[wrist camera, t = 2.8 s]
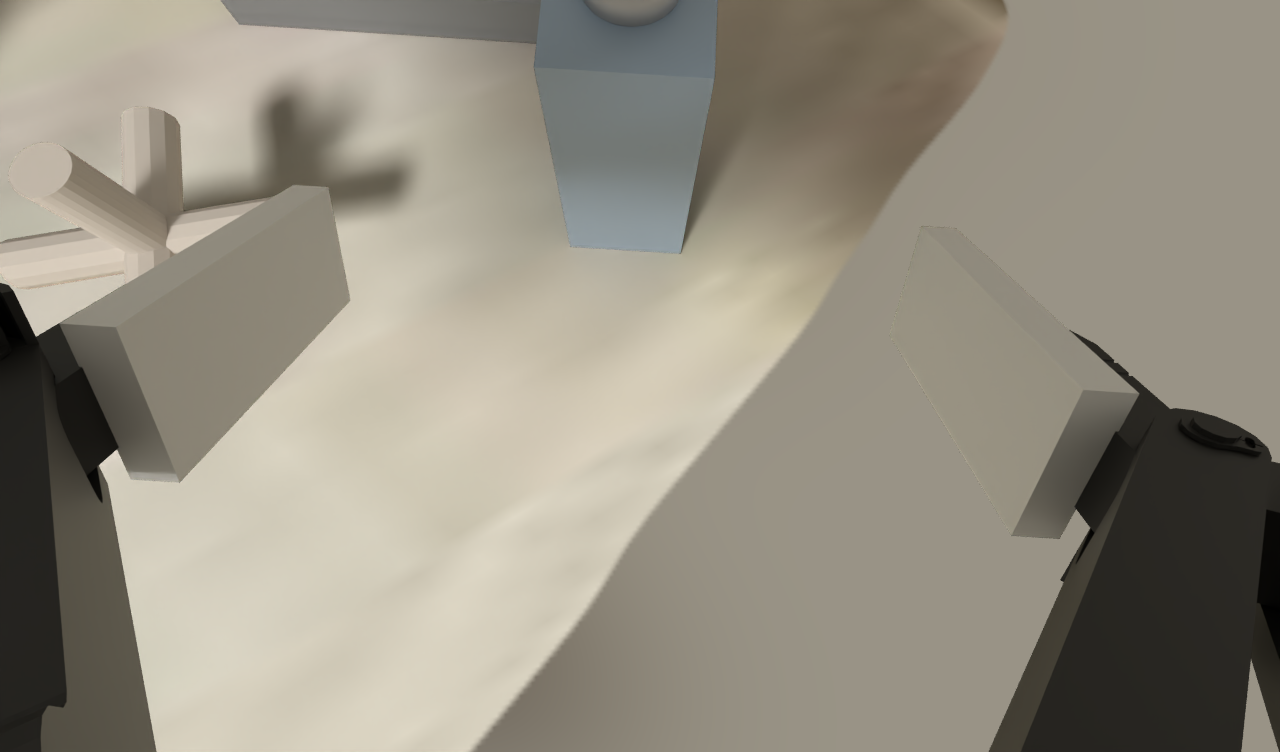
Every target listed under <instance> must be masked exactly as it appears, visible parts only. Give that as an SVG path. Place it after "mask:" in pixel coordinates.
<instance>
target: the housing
mask: <svg viewBox="0 0 1280 752" xmlns="http://www.w3.org/2000/svg"><path fill="white" fill-rule="evenodd" d="M221 2H222V3H223V4H224V5H225V7H226V8H227V9H228V11H229V12H230V13H231V14H232V16H233V17H234V18H235V20H236V21H237V22H238V23H239V24H243V25H258V26H274V27H290V28H305V29H321V30H337V31H353V32H368V33H384V34H400V35H415V36H431V37H447V38H463V39H478V40H494V41H510V42H525V43H537V34H538V24H539V15H540V6H541V0H221Z"/></svg>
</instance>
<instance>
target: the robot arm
mask: <svg viewBox="0 0 1280 752" xmlns="http://www.w3.org/2000/svg"><path fill="white" fill-rule="evenodd" d="M349 301H350V296H349V291H348V286H347V280H346V275H345V270H344V265H343V260H342V255H341V249H340V244H339V239H338V234H337V229H336V224H335V218H334V213H333V208H332V203H331V198H330V193H329V188H328V187H320V186H305V185H292V186H291V187H289V188H287V189H286V190H284V191H282V192H281V193H279V194H277V195H275V196H274V197H272V198H270V199H269V200H267V201H265V202H264V203H262V204H260V205H259V206H257V207H255V208H254V209H252V210H250V211H248V212H247V213H245V214H243V215H242V216H240V217H238V218H237V219H235V220H233V221H232V222H230V223H228V224H226V225H225V226H223V227H221V228H220V229H218V230H216V231H215V232H213V233H211V234H210V235H208V236H206V237H204V238H203V239H201V240H199V241H198V242H196V243H194V244H193V245H191V246H189V247H188V248H186V249H184V250H183V251H181V252H179V253H177V254H176V255H174V256H172V257H171V258H169V259H167V260H166V261H164V262H162V263H161V264H159V265H157V266H155V267H154V268H152V269H150V270H149V271H147V272H145V273H144V274H142V275H140V276H139V277H137V278H135V279H133V280H132V281H130V282H128V283H126V284H125V285H123V286H121V287H120V288H118V289H116V290H115V291H113V292H111V293H110V294H108V295H106V296H105V297H103V298H101V299H99V300H98V301H96V302H94V303H93V304H91V305H89V306H88V307H86V308H84V309H83V310H81V311H79V312H77V313H76V314H74V315H72V316H71V317H69V318H67V319H66V320H64V321H62V322H61V323H59V324H57V325H55V326H54V327H52V328H50V329H49V330H47V331H45V332H44V333H42V334H40V335H39V336H37V337H36V336H35V334H34V332H33V330H32V328H31V326H30V324H29V322H28V320H27V318H26V316H25V314H24V312H23V310H22V308H21V306H20V304H19V301H18V299H17V297H16V295H15V293H14V291H13V290H12V289H11V288H10V286H9V285H6V284H2V283H0V752H156V747H155V741H154V736H153V730H152V725H151V719H150V714H149V708H148V703H147V697H146V692H145V686H144V681H143V675H142V670H141V664H140V659H139V653H138V648H137V642H136V637H135V631H134V626H133V620H132V615H131V609H130V604H129V598H128V593H127V587H126V582H125V576H124V571H123V565H122V560H121V554H120V549H119V543H118V538H117V532H116V527H115V521H114V516H113V510H112V505H111V499H110V494H109V488H108V484H107V482H106V480H105V478H104V476H103V473H102V471H101V469H100V467H99V465H100V464H101V463H102V462H103V461H104V460H105V459H106V458H107V457H109V456H110V455H111V454H112V453H113V452H114V451H115V450H118V452H119V454H120V457H121V459H122V461H123V463H124V465H125V467H126V470H127V472H128V474H129V476H130V478H131V479H132V480H148V481H164V482H179V483H180V482H181V481H182V480H183V479H184V477H185V476H186V475H187V474H188V473H189V472H190V471H191V470H192V469H193V468H194V467H195V466H196V465H197V464H198V463H199V461H200V460H201V459H202V458H203V457H204V456H205V455H206V454H207V453H208V452H209V451H210V450H211V449H212V448H213V447H214V445H215V444H216V443H217V442H218V441H219V440H220V439H221V438H222V437H223V436H224V435H225V434H226V433H227V432H228V431H229V429H230V428H231V427H232V426H233V425H234V424H235V423H236V422H237V421H238V420H239V419H240V418H241V417H242V416H243V415H244V413H245V412H246V411H247V410H248V409H249V408H250V407H251V406H252V405H253V404H254V403H255V402H256V401H257V400H258V399H259V397H260V396H261V395H262V394H263V393H264V392H265V391H266V390H267V389H268V388H269V387H270V386H271V385H272V384H273V383H274V381H275V380H276V379H277V378H278V377H279V376H280V375H281V374H282V373H283V372H284V371H285V370H286V369H287V368H288V367H289V365H290V364H291V363H292V362H293V361H294V360H295V359H296V358H297V357H298V356H299V355H300V354H301V353H302V352H303V350H304V349H305V348H306V347H307V346H308V345H309V344H310V343H311V342H312V341H313V340H314V339H315V338H316V337H317V336H318V334H319V333H320V332H321V331H322V330H323V329H324V328H325V327H326V326H327V325H328V324H329V323H330V322H331V321H332V320H333V318H334V317H335V316H336V315H337V314H338V313H339V312H340V311H341V310H342V309H343V308H344V307H345V306H346V305H347V304H348V302H349ZM890 337H891V339H892V340H893V342H894V344H895V345H896V347H897V349H898V351H899V352H900V354H901V355H902V357H903V359H904V360H905V362H906V364H907V365H908V367H909V369H910V370H911V372H912V373H913V375H914V377H915V378H916V380H917V382H918V383H919V385H920V387H921V388H922V390H923V392H924V393H925V394H926V397H927V398H928V400H929V401H930V403H931V405H932V406H933V408H934V410H935V411H936V413H937V415H938V416H939V418H940V419H941V421H942V423H943V424H944V426H945V428H946V429H947V431H948V432H949V434H950V436H951V438H952V439H953V441H954V442H955V444H956V446H957V447H958V449H959V451H960V452H961V454H962V456H963V457H964V459H965V461H966V462H967V464H968V465H969V467H970V469H971V470H972V472H973V474H974V475H975V477H976V479H977V480H978V482H979V484H980V485H981V487H982V488H983V490H984V492H985V493H986V495H987V497H988V498H989V500H990V502H991V503H992V505H993V506H994V508H995V510H996V512H997V513H998V515H999V516H1000V518H1001V520H1002V521H1003V523H1004V525H1005V526H1006V528H1007V530H1008V531H1009V533H1010V534H1011V536H1022V537H1038V538H1053V539H1060V537H1061V535H1062V534H1063V531H1064V530H1065V528H1066V526H1067V524H1068V523H1069V521H1070V519H1071V517H1072V515H1073V514H1074V512H1075V510H1076V509H1077V511H1078V512H1079V513H1080V515H1081V516H1082V517H1083V519H1084V520H1085V521H1086V523H1087V524H1088V525H1089V526H1090V530H1089V531H1088V533H1087V535H1086V536H1085V538H1084V540H1083V542H1082V543H1081V545H1080V547H1079V549H1078V550H1077V552H1076V554H1075V555H1074V557H1073V559H1072V561H1071V562H1070V564H1069V566H1068V568H1067V569H1066V571H1065V573H1064V574H1063V576H1062V578H1061V581H1063V582H1064V583H1063V586H1062V588H1061V590H1060V592H1059V594H1058V597H1057V599H1056V601H1055V604H1054V606H1053V608H1052V610H1051V613H1050V615H1049V617H1048V619H1047V621H1046V624H1045V626H1044V628H1043V631H1042V633H1041V635H1040V637H1039V639H1038V642H1037V644H1036V646H1035V648H1034V651H1033V653H1032V655H1031V657H1030V660H1029V662H1028V664H1027V666H1026V669H1025V671H1024V673H1023V675H1022V678H1021V680H1020V682H1019V684H1018V687H1017V689H1016V691H1015V694H1014V696H1013V698H1012V700H1011V703H1010V705H1009V707H1008V709H1007V711H1006V714H1005V716H1004V718H1003V720H1002V723H1001V725H1000V727H999V729H998V732H997V734H996V736H995V738H994V741H993V743H992V745H991V747H990V750H989V752H1241V749H1242V739H1243V729H1244V719H1245V709H1246V700H1247V691H1248V681H1249V671H1250V662H1251V660H1252V663H1253V666H1254V670H1255V673H1256V676H1257V680H1258V683H1259V686H1260V690H1261V693H1262V696H1263V700H1264V703H1265V706H1266V710H1267V713H1268V716H1269V719H1270V723H1271V726H1272V729H1273V733H1274V736H1275V739H1276V742H1277V746H1278V749H1279V752H1280V463H1276V462H1271V459H1272V457H1271V455H1270V452H1269V449H1268V448H1267V447H1266V446H1265V445H1264V444H1263V443H1262V442H1261V441H1260V440H1259V439H1258V438H1257V437H1256V436H1254V435H1252V434H1251V433H1249V432H1247V431H1246V430H1244V429H1242V428H1241V427H1239V426H1237V425H1235V424H1233V423H1230V422H1228V421H1225V420H1223V419H1221V418H1218V417H1215V416H1212V415H1208V414H1205V413H1202V412H1198V411H1194V410H1186V409H1177V408H1175V409H1169V408H1168V407H1167V406H1166V405H1165V404H1164V403H1163V402H1161V401H1160V400H1159V399H1158V398H1157V397H1155V395H1153V394H1152V393H1151V392H1150V391H1149V390H1148V389H1147V388H1145V387H1144V386H1143V385H1142V384H1141V383H1140V382H1139V381H1137V380H1136V379H1135V378H1134V377H1133V376H1129V375H1128V374H1129V373H1128V372H1127V371H1126V370H1125V369H1124V368H1123V367H1122V366H1120V365H1119V364H1118V363H1114V360H1113V359H1112V358H1111V357H1110V356H1109V355H1108V354H1107V353H1106V352H1104V351H1103V350H1102V349H1101V348H1100V347H1099V346H1098V345H1096V344H1095V343H1093V342H1091V341H1089V340H1087V339H1085V338H1083V337H1081V336H1080V335H1078V334H1076V333H1074V332H1072V331H1071V330H1068V329H1067V328H1066V327H1065V326H1064V325H1063V324H1062V323H1061V322H1059V321H1058V320H1057V319H1056V318H1055V317H1054V316H1053V315H1052V314H1051V313H1049V312H1048V311H1047V310H1046V309H1045V308H1044V307H1043V306H1042V305H1040V304H1039V303H1038V302H1037V301H1036V300H1035V299H1034V298H1033V297H1032V296H1031V295H1029V294H1028V293H1027V292H1026V291H1025V290H1024V289H1023V288H1022V287H1020V286H1019V285H1018V284H1017V283H1016V282H1015V281H1014V280H1013V279H1012V278H1011V277H1009V276H1008V275H1007V274H1006V273H1005V272H1004V271H1003V270H1002V269H1001V268H999V267H998V266H997V265H996V264H995V263H994V262H993V261H992V260H990V259H989V258H988V257H987V256H986V255H985V254H984V253H983V252H982V251H981V250H979V249H978V248H977V247H976V246H975V245H974V244H973V243H972V242H971V241H969V240H968V239H967V238H966V237H965V236H964V235H963V234H962V233H961V232H959V231H958V230H957V229H956V228H944V227H929V226H921V229H920V233H919V236H918V240H917V243H916V247H915V250H914V253H913V257H912V260H911V263H910V267H909V270H908V274H907V277H906V281H905V284H904V287H903V291H902V294H901V298H900V301H899V305H898V308H897V311H896V315H895V318H894V322H893V325H892V329H891V332H890Z"/></svg>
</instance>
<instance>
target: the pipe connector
mask: <svg viewBox="0 0 1280 752" xmlns="http://www.w3.org/2000/svg"><path fill="white" fill-rule="evenodd" d="M121 146H122V186H120V185H119V184H117V183H116V182H114V181H113V180H111V179H110V178H108V177H107V176H105V175H104V174H102V173H101V172H99V171H98V170H96V169H95V168H93V167H92V166H90V165H89V164H87V163H86V162H84V161H83V160H82V159H80V158H79V157H77V156H76V155H74V154H73V153H71V152H70V151H68V150H67V149H65V148H64V147H62V146H60V145H58V144H55V143H50V142H41V143H37V144H33V145H31V146H29V147H27V148H25V149H23V150H22V151H21V152H20V153H18V154H17V156H16V157H15V158H14V159H13V161H12V163H11V165H10V167H9V173H8V178H9V183H10V185H11V187H12V188H13V189H14V190H15V191H16V192H17V193H18V194H20V195H22V196H24V197H25V198H27V199H29V200H31V201H33V202H34V203H36V204H38V205H40V206H42V207H44V208H45V209H47V210H49V211H51V212H53V213H55V214H56V215H58V216H60V217H62V218H64V219H66V220H67V221H69V222H71V223H73V224H75V225H77V226H78V227H80V228H76V229H70V230H63V231H57V232H51V233H45V234H39V235H33V236H26V237H20V238H14V239H8V240H5V241H3V242H1V243H0V273H1V275H2V276H3V278H4V279H5V280H6V281H7V282H9V283H10V284H12V285H13V286H15V287H16V288H20V289H34V288H40V287H46V286H52V285H58V284H64V283H70V282H76V281H82V280H88V279H94V278H100V277H106V276H112V275H118V274H124V273H125V284H126V283H128V282H130V281H132V280H133V279H135V278H137V277H139V276H140V275H142V274H144V273H145V272H147V271H149V270H150V269H152V268H154V267H155V266H157V265H159V264H161V263H162V262H164V261H166V260H167V259H169V258H171V257H172V256H174V255H176V254H177V253H179V252H181V251H183V250H184V249H186V248H188V247H189V246H191V245H193V244H194V243H196V242H198V241H199V240H201V239H203V238H204V237H206V236H208V235H210V234H211V233H213V232H215V231H216V230H218V229H220V228H221V227H223V226H225V225H226V224H228V223H230V222H232V221H233V220H235V219H237V218H238V217H240V216H242V215H243V214H245V213H247V212H248V211H250V210H252V209H254V208H255V207H257V206H259V205H260V204H262V203H264V202H265V201H267V200H269V199H270V198H272V197H267V198H261V199H255V200H249V201H243V202H236V203H230V204H224V205H218V206H212V207H205V208H199V209H193V210H187V211H184V205H183V183H182V161H181V139H180V125H179V123H178V121H177V120H176V118H175V117H173V116H171V115H170V114H168V113H166V112H165V111H162V110H158V109H154V108H151V107H132V108H129V109H127V110H124V111H123V113H122V116H121ZM273 197H274V196H273Z"/></svg>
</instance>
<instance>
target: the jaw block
mask: <svg viewBox="0 0 1280 752" xmlns="http://www.w3.org/2000/svg"><path fill="white" fill-rule="evenodd" d="M717 4H718V0H541V6H540V15H539V24H538V34H537V43H536V52H535V61H534V70H535V75H536V80H537V85H538V90H539V95H540V100H541V105H542V110H543V115H544V120H545V124H546V129H547V134H548V139H549V144H550V149H551V154H552V159H553V164H554V169H555V174H556V179H557V183H558V188H559V193H560V198H561V203H562V208H563V213H564V218H565V223H566V228H567V233H568V237H569V242H570V247H583V248H599V249H615V250H631V251H647V252H663V253H679V254H680V253H681V248H682V243H683V238H684V233H685V228H686V223H687V217H688V212H689V207H690V202H691V197H692V192H693V187H694V182H695V177H696V172H697V166H698V161H699V156H700V151H701V146H702V141H703V136H704V131H705V126H706V121H707V116H708V110H709V105H710V100H711V95H712V90H713V85H714V80H715V58H716V31H717Z"/></svg>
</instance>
